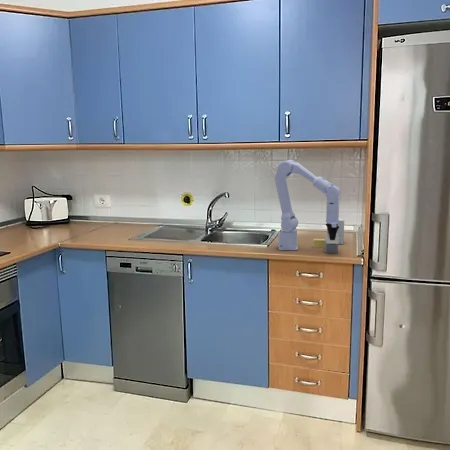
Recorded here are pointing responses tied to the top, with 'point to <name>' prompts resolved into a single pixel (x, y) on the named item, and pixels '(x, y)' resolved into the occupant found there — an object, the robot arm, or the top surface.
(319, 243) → the mustard brick
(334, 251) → the charcoal brick
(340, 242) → the supplement box
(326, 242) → the light grey brick
